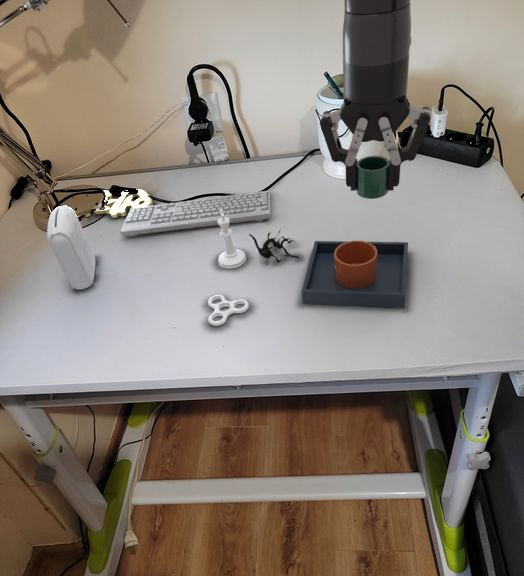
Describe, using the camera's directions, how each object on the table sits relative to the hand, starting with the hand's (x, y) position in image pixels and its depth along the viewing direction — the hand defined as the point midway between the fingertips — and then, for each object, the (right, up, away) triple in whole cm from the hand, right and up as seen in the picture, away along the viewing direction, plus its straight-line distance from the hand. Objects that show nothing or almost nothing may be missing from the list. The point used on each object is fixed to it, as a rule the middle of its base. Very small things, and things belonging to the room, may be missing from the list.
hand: (372, 187), depth 70 cm
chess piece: (-21, -7, +19) cm, 29 cm away
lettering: (-50, +9, +39) cm, 65 cm away
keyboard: (-28, +4, +31) cm, 42 cm away
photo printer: (-48, -9, +22) cm, 54 cm away
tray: (0, -11, +11) cm, 15 cm away
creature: (-12, -6, +18) cm, 23 cm away
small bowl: (0, 0, 0) cm, 1 cm away
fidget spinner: (-21, -16, +10) cm, 28 cm away
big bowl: (0, -11, +10) cm, 15 cm away
